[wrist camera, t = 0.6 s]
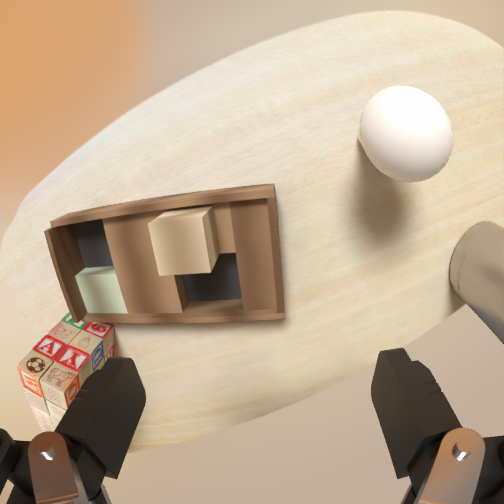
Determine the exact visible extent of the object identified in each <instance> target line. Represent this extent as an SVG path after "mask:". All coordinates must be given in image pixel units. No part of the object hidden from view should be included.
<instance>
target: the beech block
mask: <svg viewBox="0 0 504 504" xmlns="http://www.w3.org/2000/svg"><path fill="white" fill-rule="evenodd" d="M148 227H149V232H150V237H151V241H152V246H153V251H154V255H155V259H156V264H157V268H158V272H159V276H165V275H181V274H196V273H211V271H212V269H213V267H214V265H215V263H216V260H217V258H218V256H219V254H220V248H219V242H218V235H217V228H216V221H215V215H214V208H213V205H211V206H202V207H193V208H185V209H177V210H169V211H165V212H164V213H163V214H161V215H160V216H158V217H157V218H155V219H154V220H153V221H151V222H150V223H148Z"/></svg>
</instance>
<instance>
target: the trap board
mask: <svg viewBox="0 0 504 504" xmlns="http://www.w3.org/2000/svg"><path fill="white" fill-rule="evenodd" d="M211 205H213V208H214V215H215V221H216V228H217V235H218V242H219V248H220V254H219V256H218V258H217V260H216V263H215V265H214V267H213V269H212V271H211V273H196V274H181V275H165V276H159V272H158V268H157V264H156V259H155V255H154V251H153V246H152V241H151V237H150V232H149V227H148V223H150V222H151V221H153V220H154V219H155V218H157V217H158V216H160V215H161V214H163V213H164V212H165V211H169V210H177V209H185V208H193V207H202V206H211ZM50 224H51V228H50V229H48V230H46V231H44V232H45V236H46V240H47V244H48V247H49V251H50V255H51V258H52V261H53V265H54V268H55V271H56V274H57V277H58V280H59V283H60V286H61V289H62V292H63V295H64V297H65V300H66V303H67V305H68V308H69V311H70V313H71V316H72V318H73V321H74V323H79V322H80V321H82V322H103V323H210V322H236V321H256V320H272V319H285V313H284V296H283V283H282V269H281V257H280V245H279V233H278V221H277V210H276V199H275V189H274V184H263V185H252V186H242V187H233V188H224V189H215V190H207V191H199V192H191V193H184V194H177V195H170V196H163V197H156V198H150V199H143V200H137V201H131V202H125V203H119V204H114V205H108V206H103V207H97V208H92V209H87V210H82V211H77V212H72V213H68V214H66V215H63V216H61V217H59V218H57V219H55V220H53V221H50Z"/></svg>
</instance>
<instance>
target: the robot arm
mask: <svg viewBox="0 0 504 504" xmlns="http://www.w3.org/2000/svg"><path fill="white" fill-rule="evenodd" d="M450 282H451V284H452V287H453V289H454V291H455V292H456V293H457V294H458V295H459V296H460V297H461V298H462V299H463V300H464V301H465V302H466V303H467V305H468V306H469V307H470V308H471V309H472V310H473V311H474V312H475V313H476V314H477V315H478V316H479V317H480V318H481V319H482V320H483V322H484V323H485V324H486V325H487V326H488V327H489V328H490V329H491V330H492V332H493V333H494V334H495V335H496V336H497V337H498V338H499V340H500V341H501V342H502V343H503V344H504V228H503V227H501V226H499V225H497V224H495V223H492V222H481V223H478V224H476V225H475V226H473V227H471V228H470V229H469V230H468V231H467V232H466V233H465V234H464V235H463V237H462V238H461V239H460V241H459V243H458V245H457V246H456V248H455V251H454V253H453V256H452V260H451V264H450ZM371 397H372V401H373V404H374V407H375V410H376V413H377V416H378V419H379V422H380V425H381V428H382V431H383V434H384V437H385V440H386V443H387V446H388V449H389V453H390V456H391V459H392V462H393V466H394V469H395V472H396V476H397V479H400V478H403V477H407V476H409V477H410V480H411V484H410V486H409V488H408V490H407V492H406V494H405V496H404V498H403V500H402V502H401V504H504V436H497V437H486V438H482V437H481V436H480V435H479V434H478V433H477V432H476V431H474V430H472V429H469V428H463V427H462V426H461V424H460V423H459V421H458V419H457V417H456V415H455V413H454V411H453V410H452V408H451V406H450V404H449V402H448V401H447V399H446V397H445V395H444V394H443V392H441V388H440V387H439V385H438V383H436V380H435V378H434V376H433V375H432V373H431V371H430V370H429V369H428V368H427V367H426V366H424V365H423V364H422V363H421V362H419V361H418V360H417V361H411V359H410V358H409V356H408V355H407V352H406V351H405V349H404V348H396V349H390V350H384V351H380V353H379V355H378V359H377V364H376V368H375V372H374V376H373V381H372V385H371ZM145 403H146V393H145V389H144V387H143V384H142V382H141V379H140V376H139V374H138V371H137V369H136V366H135V363H134V361H133V360H132V359H131V358H123V357H113V356H111V357H109V358H108V359H107V360H106V362H105V364H104V365H103V367H102V368H101V370H100V369H97V370H96V371H95V372H93V373H92V374H91V375H90V376H89V377H87V378H86V380H85V381H84V383H83V385H82V386H81V388H80V391H78V393H77V394H76V396H75V399H73V401H72V402H71V404H70V405H69V407H68V409H67V410H66V412H65V414H64V415H63V417H62V419H61V420H60V422H59V424H58V425H57V427H56V429H55V430H54V432H52V431H47V432H43V433H41V434H38V435H37V436H35V438H33V439H32V441H17V440H13V439H12V438H11V437H10V435H9V434H8V433H7V432H6V431H5V430H3V429H1V428H0V495H1V492H2V490H3V488H4V486H5V483H6V481H7V479H8V480H9V481H10V482H12V483H13V484H14V487H13V489H12V492H11V494H10V497H9V499H8V501H7V503H6V504H111V501H110V499H109V497H108V494H107V491H106V489H105V487H104V485H103V484H102V482H103V479H104V476H106V477H110V478H114V479H117V478H118V475H119V472H120V469H121V467H122V464H123V461H124V458H125V456H126V453H127V451H128V448H129V445H130V443H131V440H132V437H133V435H134V432H135V430H136V427H137V425H138V422H139V419H140V417H141V414H142V412H143V409H144V407H145Z"/></svg>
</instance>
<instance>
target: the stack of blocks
mask: <svg viewBox="0 0 504 504" xmlns="http://www.w3.org/2000/svg"><path fill="white" fill-rule="evenodd" d="M111 356H113V357H114V325H112V324H110V323H103V322H82V321H80V322H79V323H74V321H73V318H72V316H71V313H70V312H69V313H68V314H67V315H66V316H65V317H64V318H63V319H62V320H61V321H60V322H59V323H58V324H57V325H56V326H55V327H54V328H53V329H52V330H51V331H50V332H49V333H48V335H45V336H44V337H43V338H42V339H41V341H39V342H38V343H37V345H35V346H34V347H33V349H32V350H31V351H30V352H29V353H28V354H27V355H26V356H25V357H24V358H23V359H22V360H21V362H20V363H19V364H18V365H17V368H18V371H19V374H20V377H21V380H22V383H23V389H24V392H25V395H26V397H27V400H28V402H29V403H30V406H31V408H32V411H33V413H34V415H35V416H36V419H37V421H38V423H39V425H40V428H41V430H42V431H44V432H47V431H52V432H54V430H55V429H56V427H57V425H58V424H59V422H60V420H61V419H62V417H63V415H64V414H65V412H66V410H67V409H68V407H69V405H70V404H71V402H72V401H73V399H75V396H76V394H77V393H78V391H80V388H81V386H82V385H83V383H84V381H85V380H86V378H87V377H89V376H90V375H91V374H92V373H93V372H95V371H96V370H97V369H100V370H101V368H102V367H103V365H104V364H105V362H106V360H107V359H108V358H109V357H111Z"/></svg>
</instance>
